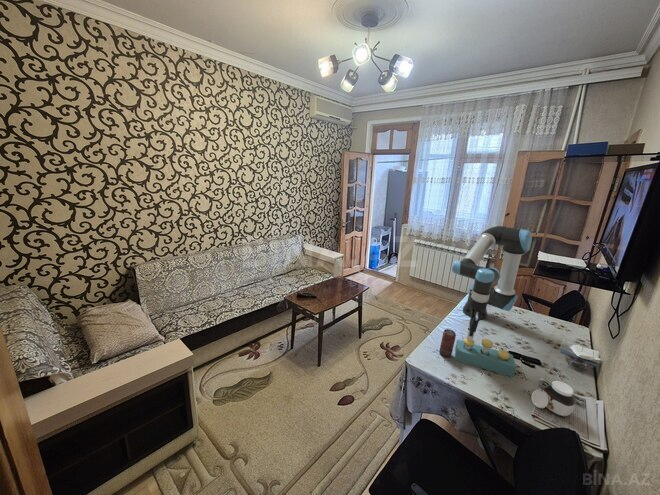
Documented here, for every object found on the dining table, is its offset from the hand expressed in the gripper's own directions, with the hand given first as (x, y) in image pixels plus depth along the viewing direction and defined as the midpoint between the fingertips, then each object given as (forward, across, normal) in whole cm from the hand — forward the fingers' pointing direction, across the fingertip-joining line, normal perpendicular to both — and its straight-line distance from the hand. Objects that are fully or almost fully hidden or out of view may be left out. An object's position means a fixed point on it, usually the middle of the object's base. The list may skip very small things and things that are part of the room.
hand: (469, 340), depth 139 cm
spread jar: (+11, +18, +32) cm, 38 cm away
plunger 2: (+9, 0, +16) cm, 19 cm away
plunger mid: (+6, 0, +8) cm, 10 cm away
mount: (+11, 0, +8) cm, 13 cm away
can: (+11, +3, -10) cm, 15 cm away
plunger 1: (+8, 0, 0) cm, 8 cm away
